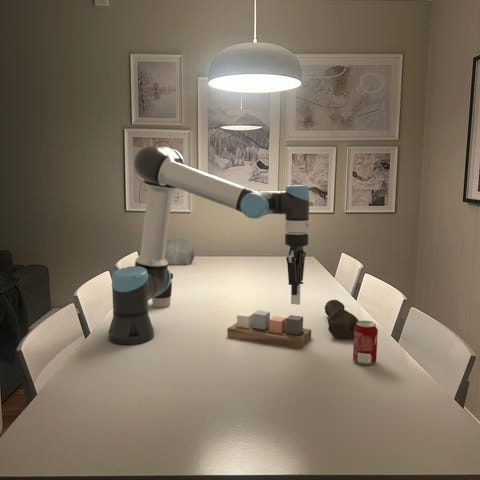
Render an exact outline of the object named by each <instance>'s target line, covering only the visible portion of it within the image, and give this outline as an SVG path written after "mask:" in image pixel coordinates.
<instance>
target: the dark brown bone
mask: <svg viewBox="0 0 480 480" xmlns="http://www.w3.org/2000/svg"><path fill="white" fill-rule="evenodd" d="M324 313H325V314H326V316H328V318H327V324H328V332H329V333H330V334H331V336H333V337H334V338H335V339H337V340H342V341H350V340H354V328H355V326H356V325H357V322H358V321H360V320H359V318H357V317H356V316H355V315H354V314H353V313H352V312H349V311H347V310H345V304H343V303H342V302H341V301H340V300H338V299H330V300H328V301H327V302H326V303H325V306H324Z"/></svg>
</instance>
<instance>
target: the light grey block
mask: <svg viewBox="0 0 480 480" xmlns="http://www.w3.org/2000/svg"><path fill="white" fill-rule="evenodd" d="M252 313H253V312H252ZM270 319H271V312H270V311H264V310H257V311H255V312H254V313H253V328H257V329H263V330H265V329H266V328H268V327H269V320H270Z"/></svg>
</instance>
